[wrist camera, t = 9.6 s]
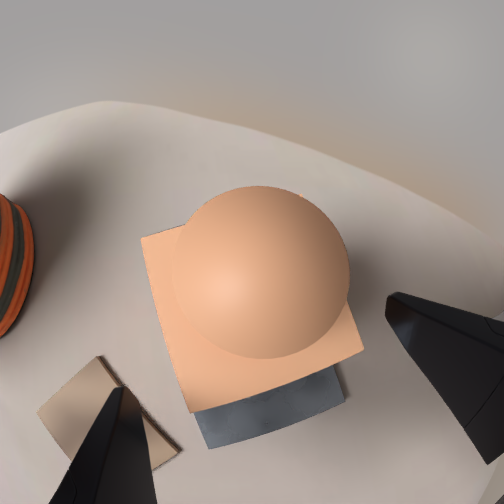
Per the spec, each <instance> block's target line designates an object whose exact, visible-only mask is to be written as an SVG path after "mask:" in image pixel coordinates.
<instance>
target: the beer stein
mask: <svg viewBox="0 0 504 504" xmlns="http://www.w3.org/2000/svg"><path fill="white" fill-rule="evenodd" d="M33 262H34V244H33V234H32V229H31V225H30V222H29V219H28V217H27V215H26V213H25V212H24V210H23V209H22V208H21V207H20V206H19V205H17V204H14V203H13V202H11V201H9V200H8V199H7V198H6V197H5V196H4V195H2V194H0V337H1V336H2V335H3V334H4V333H5V332H6V331H7V330H8V328H9V327H10V326H11V325H12V323H13V322H14V320H15V318H16V317H17V315H18V313H19V311H20V309H21V307H22V304H23V302H24V300H25V297H26V294H27V291H28V289H29V285H30V281H31V276H32V270H33Z"/></svg>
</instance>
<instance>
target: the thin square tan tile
mask: <svg viewBox="0 0 504 504" xmlns="http://www.w3.org/2000/svg"><path fill="white" fill-rule="evenodd" d="M119 386H120V385H119V383H118V382H117V381H116V379H115V378H114V377H113V375H112V374H111V373H110V371H109V370H108V369H107V367H106V366H105V364H104V363H103V362H102V360H101V359H100V357H99V356H96V357H95V358H94V359H93V360H91V361H90V362H89V363H88V364H87V365H86V366H85V367H84V368H83V369H82V370H80V371H79V372H78V373H77V374H76V375H75V376H74V377H73V378H72V379H71V380H70V381H68V382H67V383H66V384H65V385H64V386H63V387H62V388H61V389H60V390H59V391H58V392H57V393H56V394H54V395H53V396H52V397H51V398H50V399H49V400H48V401H47V402H46V403H45V404H44V405H43V406H42V407H41V408H40V409H39V410H37V411H36V413H37V415H38V416H39V418H40V419H41V421H42V422H43V424H44V425H45V427H46V428H47V430H48V431H49V433H50V434H51V435H52V437H53V438H54V439H55V441H56V442H57V444H58V445H59V446H60V447H61V449H62V450H63V451H64V453H65V454H66V455H67V456H68V458H69V459H70V460H71V461H73V459H74V457H75V455H76V453H77V451H78V450H79V448H80V446H81V444H82V442H83V440H84V439H85V437H86V435H87V433H88V431H89V430H90V428H91V426H92V424H93V422H94V421H95V419H96V417H97V415H98V414H99V412H100V410H101V408H102V407H103V405H104V403H105V402H106V400H107V398H108V397H109V395H110V393H111V391H112V390H113V389H114V388H115V387H119ZM141 413H142V411H141ZM142 418H143V423H144V428H145V432H146V437H147V442H148V447H149V455H150V462H151V469H152V470H153V469H155V468H156V467H158V466H159V465H161V464H162V463H164V462H165V461H167V460H168V459H170V458H171V457H173V456H174V455H176V454H177V453H178V452H179V450H178V449H177V448H176V447H175V446H174V445H173V444H172V443H171V442H170V441H169V440H168V439H167V438H166V437H165V436H164V435H163V434H162V433H161V432H160V431H159V430H158V429H157V428H156V427H155V426H154V425H153V424H152V423H151V421H150V420H149V419H148V418H147V417H146V416H145V415H144V414H143V413H142Z"/></svg>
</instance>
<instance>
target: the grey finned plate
mask: <svg viewBox="0 0 504 504" xmlns="http://www.w3.org/2000/svg"><path fill="white" fill-rule="evenodd" d="M184 225H185V224H184ZM181 226H183V225H181ZM178 227H180V226H178ZM175 228H176V227H175ZM171 229H173V228H171ZM168 230H169V229H168ZM165 231H166V230H165ZM162 232H163V231H162ZM159 233H160V232H159ZM155 234H156V233H155ZM152 235H153V234H152ZM149 236H150V235H149ZM146 237H147V236H146ZM343 402H345V399H344V396H343V393H342V390H341V387H340V384H339V381H338V378H337V375H336V372H335V370H334V367H333V365H331V366H329V367H326V368H324V369H322V370H319V371H317V372H315V373H312V374H310V375H308V376H305V377H303V378H300V379H298V380H295V381H292V382H290V383H287V384H285V385H282V386H279V387H276V388H274V389H271V390H268V391H265V392H262V393H259V394H256V395H253V396H250V397H247V398H244V399H241V400H237V401H234V402H231V403H227V404H224V405H220V406H217V407H213V408H209V409H206V410H202V411H198V412H194V415H195V418H196V420H197V423H198V425H199V428H200V430H201V432H202V435H203V437H204V439H205V442H206V444H207V446H208V449H213V448H217V447H221V446H225V445H229V444H233V443H237V442H240V441H244V440H247V439H250V438H254V437H257V436H260V435H263V434H266V433H269V432H272V431H275V430H278V429H281V428H284V427H286V426H289V425H292V424H294V423H297V422H300V421H302V420H305V419H307V418H309V417H312V416H314V415H317V414H319V413H321V412H324V411H326V410H328V409H330V408H332V407H335V406H337V405H339V404H341V403H343Z"/></svg>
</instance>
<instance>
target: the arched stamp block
mask: <svg viewBox="0 0 504 504" xmlns="http://www.w3.org/2000/svg"><path fill="white" fill-rule="evenodd" d="M141 244H142V249H143V254H144V259H145V263H146V268H147V272H148V277H149V281H150V286H151V290H152V294H153V298H154V302H155V306H156V310H157V313H158V317H159V321H160V324H161V328H162V331H163V335H164V338H165V342H166V345H167V348H168V352H169V355H170V358H171V361H172V364H173V367H174V370H175V373H176V376H177V379H178V382H179V385H180V388H181V391H182V393H183V396H184V399H185V402H186V404H187V407H188V410H189V412H190V413H194V412H198V411H202V410H206V409H209V408H213V407H217V406H220V405H224V404H227V403H231V402H234V401H237V400H241V399H244V398H247V397H250V396H253V395H256V394H259V393H262V392H265V391H268V390H271V389H274V388H276V387H279V386H282V385H285V384H287V383H290V382H292V381H295V380H298V379H300V378H303V377H305V376H308V375H310V374H312V373H315V372H317V371H319V370H322V369H324V368H326V367H329V366H331V365H333V364H335V363H338V362H340V361H342V360H344V359H346V358H348V357H350V356H352V355H355V354H357V353H359V352H361V351H363V350H364V347H363V344H362V341H361V338H360V335H359V332H358V330H357V327H356V324H355V321H354V318H353V316H352V313H351V310H350V308H349V305H348V302H347V300H346V298H347V295H348V290H349V284H350V267H349V259H348V255H347V251H346V248H345V245H344V243H343V240H342V238H341V236H340V234H339V232H338V230H337V229H336V228H335V226H334V225H333V223H332V222H331V221H330V219H329V218H328V217H327V216H326V215H325V214H324V213H323V212H322V211H321V210H320V209H319V208H318V207H316V206H315V205H314V204H312V203H311V202H309V201H308V200H306V199H304V198H303V196H302V194H299V195H297V194H294V193H292V192H289V191H286V190H283V189H279V188H274V187H267V186H251V187H243V188H238V189H234V190H231V191H228V192H225V193H223V194H221V195H218V196H216V197H215V198H213V199H211V200H210V201H208V202H207V203H205V204H204V205H203V206H202V207H200V208H199V209H198V210H197V211H196V212H195V213H194V214H193V215H192V216H191V218H190V219H189V220H188V222H187V223H186V224H185V225H183V226H180V227H176V228H173V229H169V230H166V231H163V232H160V233H156V234H153V235H150V236H147V237H143V238H141Z"/></svg>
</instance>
